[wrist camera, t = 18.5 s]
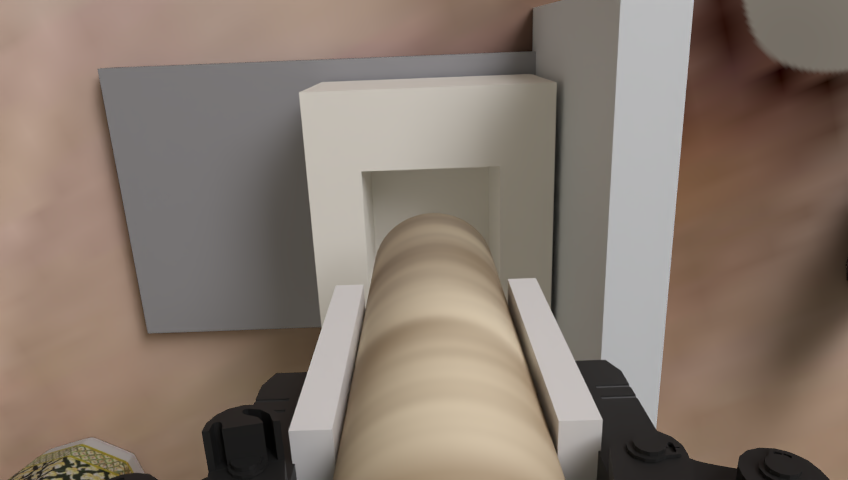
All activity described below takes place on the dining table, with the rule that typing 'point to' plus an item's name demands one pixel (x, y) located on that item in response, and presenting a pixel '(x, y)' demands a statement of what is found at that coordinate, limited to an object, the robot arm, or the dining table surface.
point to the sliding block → (430, 169)
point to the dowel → (441, 368)
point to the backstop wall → (283, 80)
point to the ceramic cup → (81, 462)
